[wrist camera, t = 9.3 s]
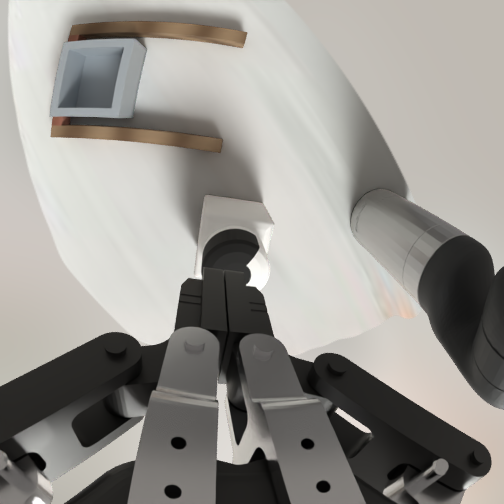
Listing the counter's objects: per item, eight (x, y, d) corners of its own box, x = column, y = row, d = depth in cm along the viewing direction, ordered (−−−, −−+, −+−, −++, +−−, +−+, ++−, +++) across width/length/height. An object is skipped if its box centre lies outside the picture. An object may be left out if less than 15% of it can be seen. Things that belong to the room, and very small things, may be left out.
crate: (147, 50, 28) (135, 38, 22) (133, 117, 31) (118, 118, 26) (84, 50, 26) (64, 42, 21) (71, 115, 30) (49, 116, 24)
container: (196, 248, 40) (190, 305, 28) (204, 193, 37) (199, 230, 25) (252, 255, 41) (268, 312, 29) (264, 202, 38) (286, 242, 26)
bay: (245, 37, 28) (247, 32, 26) (220, 150, 34) (220, 152, 32) (80, 29, 24) (72, 25, 22) (59, 135, 30) (50, 137, 28)
